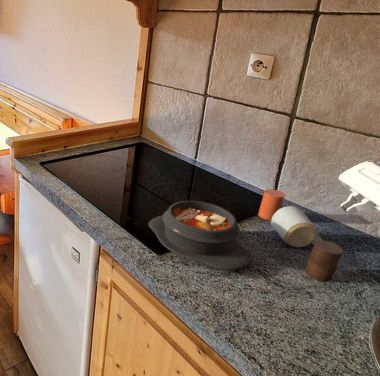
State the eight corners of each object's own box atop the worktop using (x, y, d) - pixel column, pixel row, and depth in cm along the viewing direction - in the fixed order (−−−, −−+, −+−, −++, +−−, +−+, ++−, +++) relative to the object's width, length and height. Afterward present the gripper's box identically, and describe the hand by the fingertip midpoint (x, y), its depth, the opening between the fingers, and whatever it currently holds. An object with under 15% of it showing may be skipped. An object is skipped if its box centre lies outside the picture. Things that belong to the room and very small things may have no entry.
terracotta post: (273, 212, 113) (280, 189, 110) (281, 221, 108) (288, 197, 105) (255, 211, 113) (261, 188, 110) (262, 220, 108) (269, 196, 106)
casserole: (130, 232, 101) (134, 202, 98) (181, 214, 110) (186, 186, 107) (214, 287, 82) (222, 253, 79) (267, 260, 91) (277, 228, 88)
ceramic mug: (282, 248, 96) (291, 220, 92) (267, 230, 103) (275, 204, 100) (327, 252, 95) (339, 223, 92) (309, 233, 103) (319, 207, 99)
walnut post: (324, 268, 89) (334, 241, 86) (337, 282, 85) (348, 254, 82) (300, 266, 89) (310, 239, 87) (312, 280, 85) (322, 252, 82)
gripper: (368, 148, 99) (314, 183, 104) (434, 182, 80) (366, 222, 85) (380, 166, 100) (327, 199, 105) (448, 203, 82) (380, 241, 87)
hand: (345, 210), depth 95 cm, fingers closed
